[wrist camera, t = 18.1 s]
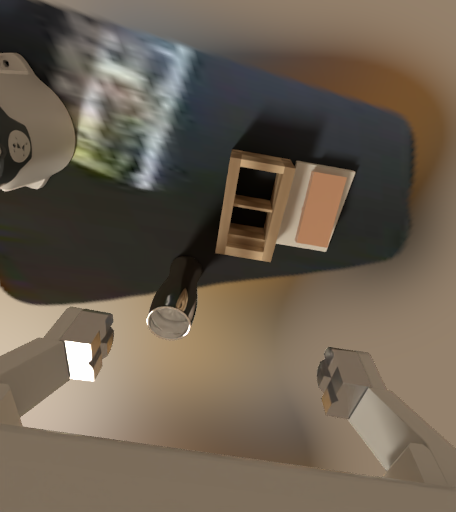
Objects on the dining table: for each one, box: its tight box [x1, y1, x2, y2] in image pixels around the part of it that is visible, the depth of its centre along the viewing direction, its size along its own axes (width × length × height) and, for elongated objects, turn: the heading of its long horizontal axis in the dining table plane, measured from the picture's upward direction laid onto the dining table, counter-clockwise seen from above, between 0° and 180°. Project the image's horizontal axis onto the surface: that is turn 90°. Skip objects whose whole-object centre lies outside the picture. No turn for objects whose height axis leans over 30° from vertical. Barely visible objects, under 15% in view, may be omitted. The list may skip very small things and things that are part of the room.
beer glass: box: [147, 256, 202, 340], centre depth 50 cm, size 7×7×15 cm
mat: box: [276, 160, 355, 252], centre depth 49 cm, size 9×14×1 cm, turn 171°
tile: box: [295, 171, 347, 248], centre depth 47 cm, size 5×11×3 cm, turn 171°
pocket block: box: [215, 149, 296, 262], centre depth 46 cm, size 9×15×6 cm, turn 171°
